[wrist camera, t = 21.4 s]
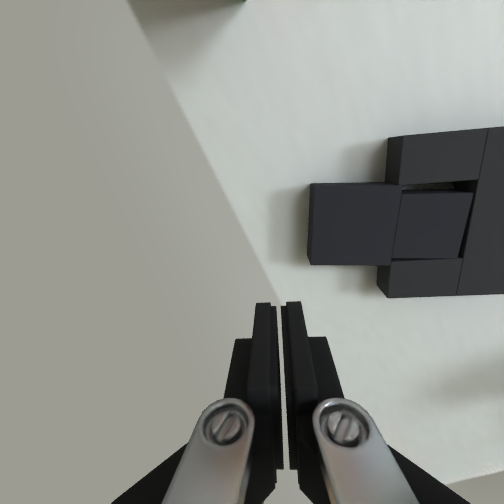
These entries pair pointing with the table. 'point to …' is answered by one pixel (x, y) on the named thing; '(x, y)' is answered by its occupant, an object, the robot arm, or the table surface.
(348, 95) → the table surface
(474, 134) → the socket pad
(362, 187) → the pad
